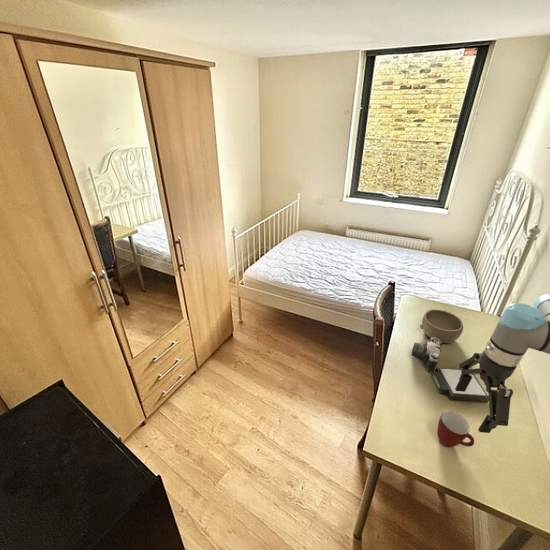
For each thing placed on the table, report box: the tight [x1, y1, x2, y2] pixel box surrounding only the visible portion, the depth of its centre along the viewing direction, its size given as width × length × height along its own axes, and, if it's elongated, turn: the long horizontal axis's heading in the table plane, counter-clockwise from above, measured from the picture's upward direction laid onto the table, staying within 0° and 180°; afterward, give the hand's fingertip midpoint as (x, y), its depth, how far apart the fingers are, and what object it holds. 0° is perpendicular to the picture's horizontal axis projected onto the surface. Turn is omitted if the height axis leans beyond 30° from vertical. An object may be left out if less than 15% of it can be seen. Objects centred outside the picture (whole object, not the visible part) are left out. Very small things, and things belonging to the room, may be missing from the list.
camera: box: [411, 337, 443, 374], centre depth 127 cm, size 16×10×10 cm, turn 153°
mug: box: [436, 410, 475, 448], centre depth 94 cm, size 10×8×10 cm
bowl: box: [419, 308, 464, 344], centre depth 141 cm, size 17×18×10 cm
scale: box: [431, 367, 489, 404], centre depth 116 cm, size 14×17×3 cm
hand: (470, 409), depth 87 cm, fingers open, 13 cm apart
